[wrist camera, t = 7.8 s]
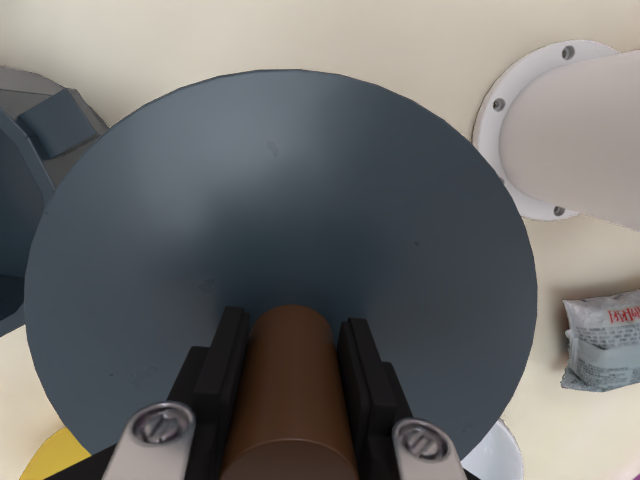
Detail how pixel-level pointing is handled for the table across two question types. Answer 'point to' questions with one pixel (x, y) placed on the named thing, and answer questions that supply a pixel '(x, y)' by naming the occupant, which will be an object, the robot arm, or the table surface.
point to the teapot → (55, 456)
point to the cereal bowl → (496, 456)
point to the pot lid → (281, 266)
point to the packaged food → (603, 342)
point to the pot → (33, 169)
